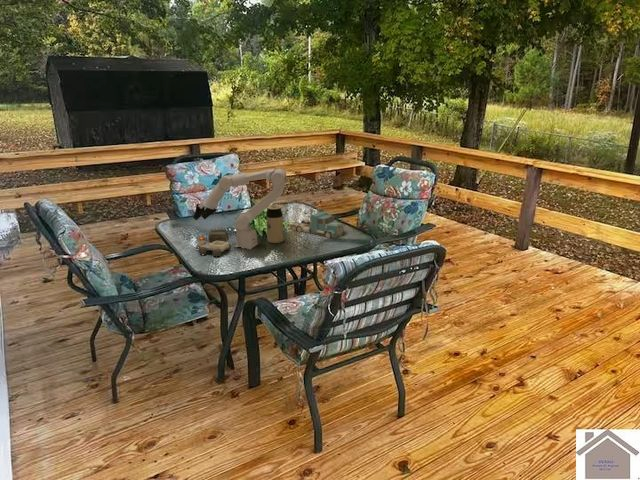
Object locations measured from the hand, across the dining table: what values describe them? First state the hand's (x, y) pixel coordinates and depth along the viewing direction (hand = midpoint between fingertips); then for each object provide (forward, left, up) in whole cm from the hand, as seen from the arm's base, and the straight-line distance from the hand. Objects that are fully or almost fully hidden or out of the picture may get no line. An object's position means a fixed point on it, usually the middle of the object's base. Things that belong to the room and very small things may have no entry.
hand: (199, 218), depth 228 cm
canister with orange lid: (-3, +4, -14) cm, 15 cm away
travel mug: (-31, -19, -14) cm, 39 cm away
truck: (-45, -41, -15) cm, 63 cm away
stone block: (-4, -9, -15) cm, 18 cm away
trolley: (-9, +6, -14) cm, 18 cm away
